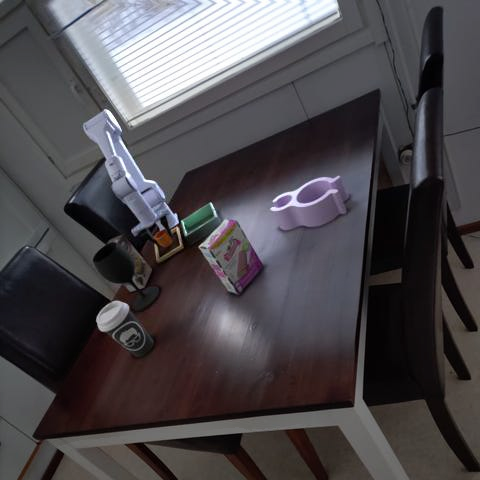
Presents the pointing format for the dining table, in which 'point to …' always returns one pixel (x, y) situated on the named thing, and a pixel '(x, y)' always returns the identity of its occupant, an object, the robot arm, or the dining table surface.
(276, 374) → the dining table surface
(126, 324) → the coffee cup
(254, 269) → the candy bar box
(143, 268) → the coffee box
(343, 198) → the clip
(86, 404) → the dining table surface
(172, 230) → the tray
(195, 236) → the basin
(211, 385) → the dining table surface
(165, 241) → the bowl
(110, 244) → the wine glass
